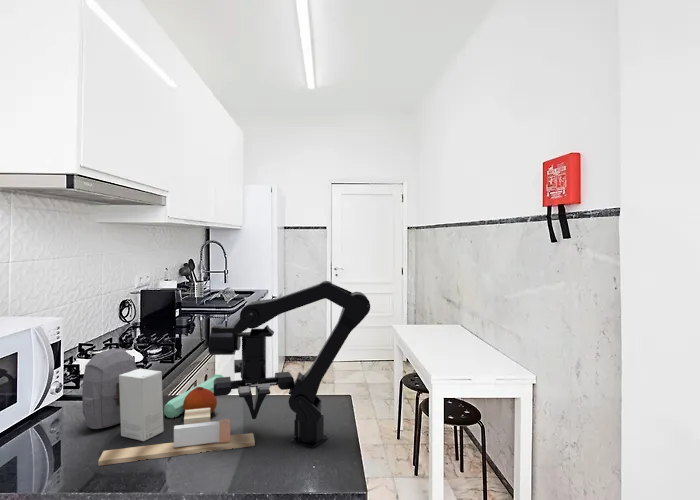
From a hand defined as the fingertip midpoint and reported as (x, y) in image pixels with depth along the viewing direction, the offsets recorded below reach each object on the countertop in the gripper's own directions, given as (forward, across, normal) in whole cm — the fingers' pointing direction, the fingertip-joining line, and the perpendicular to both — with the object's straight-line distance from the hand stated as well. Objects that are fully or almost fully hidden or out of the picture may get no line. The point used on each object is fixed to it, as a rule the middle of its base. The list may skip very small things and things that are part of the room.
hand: (253, 418), depth 107 cm
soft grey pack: (+6, +35, -21) cm, 41 cm away
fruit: (+6, +13, -20) cm, 25 cm away
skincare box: (+6, +27, -12) cm, 30 cm away
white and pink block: (+4, +12, 0) cm, 13 cm away
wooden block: (+6, +13, -6) cm, 16 cm away
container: (+6, +14, -31) cm, 35 cm away
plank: (+5, +16, 0) cm, 17 cm away
